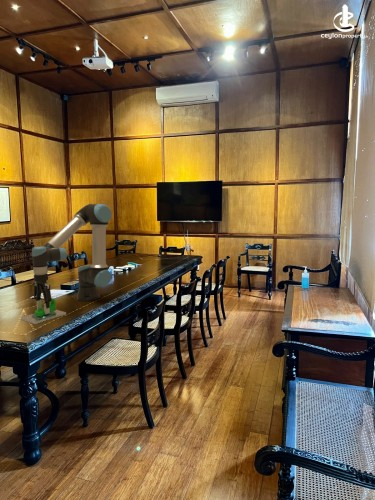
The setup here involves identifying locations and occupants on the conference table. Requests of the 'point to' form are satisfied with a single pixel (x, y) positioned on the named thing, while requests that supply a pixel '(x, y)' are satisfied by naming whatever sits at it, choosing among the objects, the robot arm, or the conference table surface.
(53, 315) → the carrier plate
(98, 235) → the robot arm
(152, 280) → the conference table surface
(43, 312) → the mechanical part
